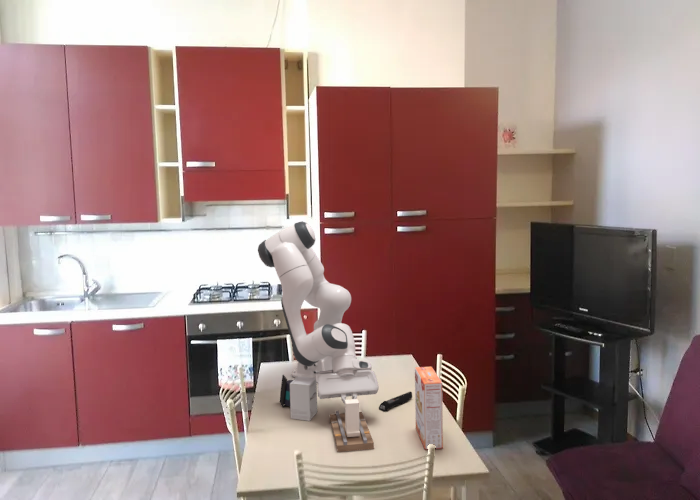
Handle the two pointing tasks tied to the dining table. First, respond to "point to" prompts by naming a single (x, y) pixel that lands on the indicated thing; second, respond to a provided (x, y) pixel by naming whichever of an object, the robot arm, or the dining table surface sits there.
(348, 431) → the switch tab
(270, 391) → the dining table surface
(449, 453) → the dining table surface
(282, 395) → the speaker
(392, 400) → the electric trimmer
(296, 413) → the supplement box
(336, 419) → the switch track
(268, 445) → the dining table surface
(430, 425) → the cracker box
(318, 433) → the dining table surface
